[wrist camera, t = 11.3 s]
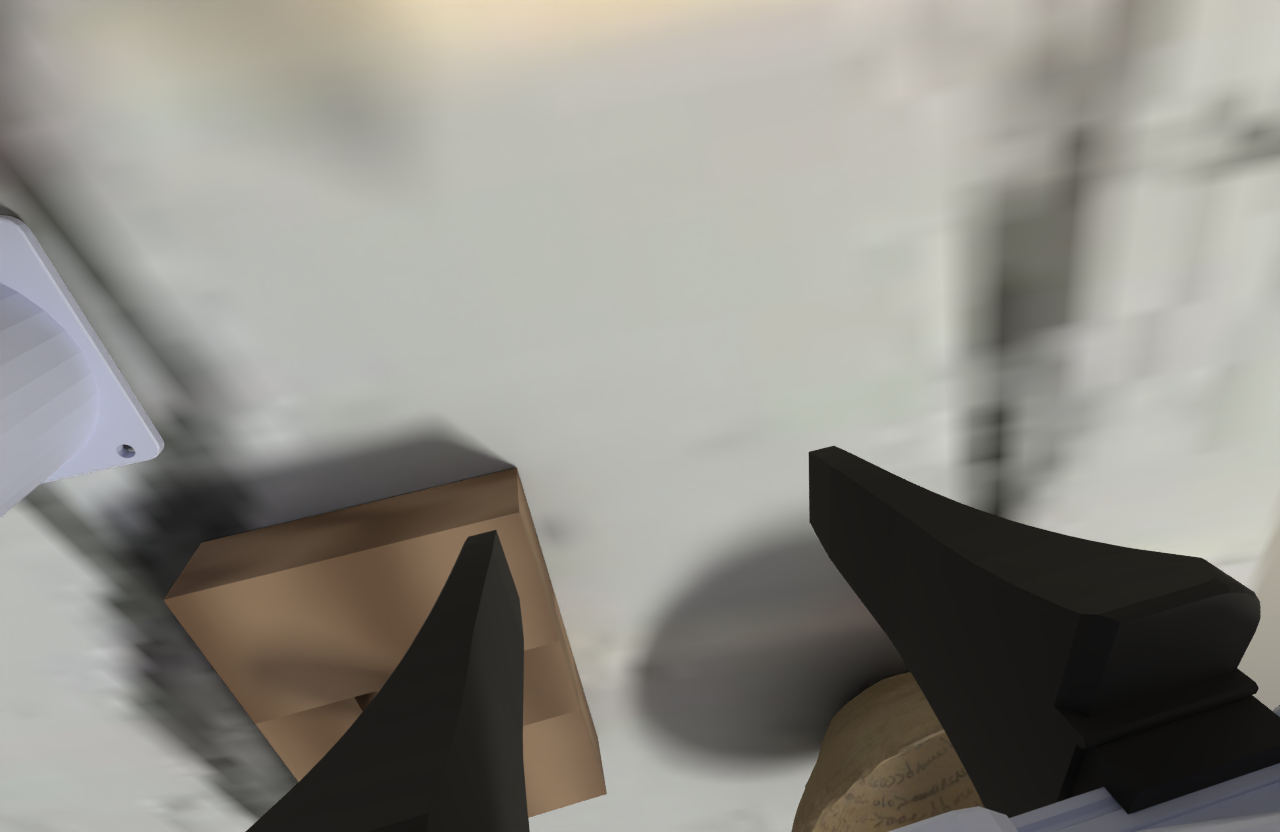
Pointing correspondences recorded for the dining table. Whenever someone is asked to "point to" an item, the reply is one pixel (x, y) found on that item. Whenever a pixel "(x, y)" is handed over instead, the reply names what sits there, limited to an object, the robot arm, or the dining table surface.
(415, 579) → the hole plate
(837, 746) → the bowl
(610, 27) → the dining table surface
